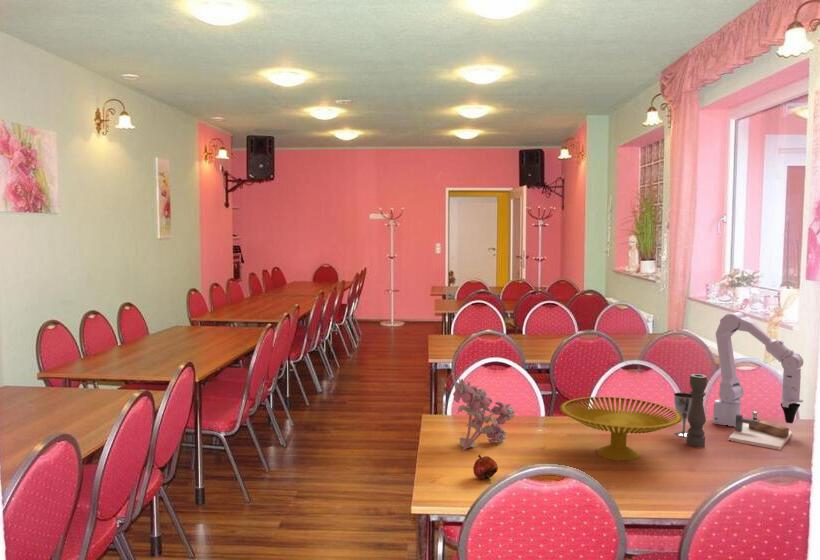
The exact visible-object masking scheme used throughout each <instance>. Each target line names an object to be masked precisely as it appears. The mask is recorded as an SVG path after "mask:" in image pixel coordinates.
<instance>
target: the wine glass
mask: <svg viewBox="0 0 820 560" xmlns="http://www.w3.org/2000/svg"><path fill="white" fill-rule="evenodd" d="M691 404H692V396H691V394H690V392H681V391H680V392H675V393H673V405H674V410H676V411H677V412H678V413H681V414H680V415H682V418H683V419H682V420H681V422H682V431H674V432H673V435H674V436H676V437H679V436H680V437H681V438H687V434H688V431H686V422H687V421H688V414H689V411H690V407H691Z"/></svg>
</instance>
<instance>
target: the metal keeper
mask: <svg viewBox="0 0 820 560" xmlns="http://www.w3.org/2000/svg"><path fill="white" fill-rule="evenodd" d="M759 420H760V419H759ZM759 420H753V418H746V417H744V414H741V413H740V414H737V415H736V426H735V427H734V428H735V429H734V432H735V431H739V432H741V431H742V425H743V423H745V424H755V425H758V424H759Z"/></svg>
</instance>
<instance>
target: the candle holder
mask: <svg viewBox="0 0 820 560" xmlns="http://www.w3.org/2000/svg"><path fill="white" fill-rule="evenodd" d="M689 385H690V388H691V391H689V393H690V394H691V396H692V404H691V407H690V411H689V414H688V418H687V422H688V424H689V428H688V429H687V432H688V434H687V437H685V438H686V439H685V440H686V446H688V445H689V447H691V446H693V447H692V448H696V447H701V448H704V447H703V446H705V444H706V443H705V442H706V436H705V434H706V433H705V431H704V429H703V428H704V425H705V424H706V420H707V418H706V413H705V408H704V407H705V406H704V397H706V396H707V394H706V393H707V392H705V390H706V388H707V386H708V376H707V375H705V374H699V373H690V375H689Z"/></svg>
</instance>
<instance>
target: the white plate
mask: <svg viewBox="0 0 820 560" xmlns="http://www.w3.org/2000/svg"><path fill="white" fill-rule="evenodd" d="M792 435H793V431H791V430H789V434H788V437H780V436H776V435H773V434H770V433H766V432H763V431H759V430H756V429H751V428H749V423H743V425H742V431H741V432H739V431H735V430H734V432H732V434H730V435H729V436H728V441H729V440H731V441H730V442H734V441H735V443H741V444H744V445H745V444H746V445H750V444H751V445H752V446H757V447H762V448H768V449H774V450H778V451H781V449H782V448H783V447H784V446H785V444H786V443H787V442H788V440H789V439H791V437H792Z"/></svg>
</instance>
